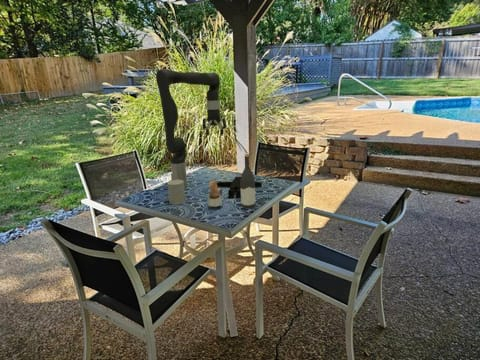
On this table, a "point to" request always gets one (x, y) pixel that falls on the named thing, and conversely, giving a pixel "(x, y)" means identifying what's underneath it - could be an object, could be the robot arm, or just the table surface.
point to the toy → (235, 187)
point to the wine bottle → (247, 185)
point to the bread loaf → (213, 190)
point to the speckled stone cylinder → (176, 191)
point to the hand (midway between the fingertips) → (214, 135)
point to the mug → (215, 201)
